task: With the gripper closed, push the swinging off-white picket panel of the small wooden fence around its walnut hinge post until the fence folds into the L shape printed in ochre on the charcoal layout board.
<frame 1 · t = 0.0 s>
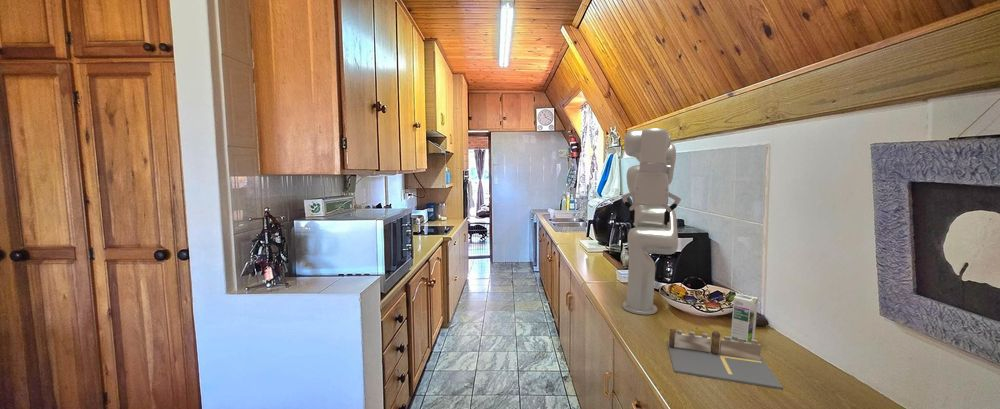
hand: (649, 223, 123), 37 cm above the worktop, tool pointing down, fingers open, 9 cm apart
fence gate: (689, 340, 116), point 4 cm above the worktop, hinge at 0.0°
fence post: (714, 354, 115), resting on layout card
syrup box: (742, 341, 124), on the worktop
layout card: (718, 363, 110), on the worktop
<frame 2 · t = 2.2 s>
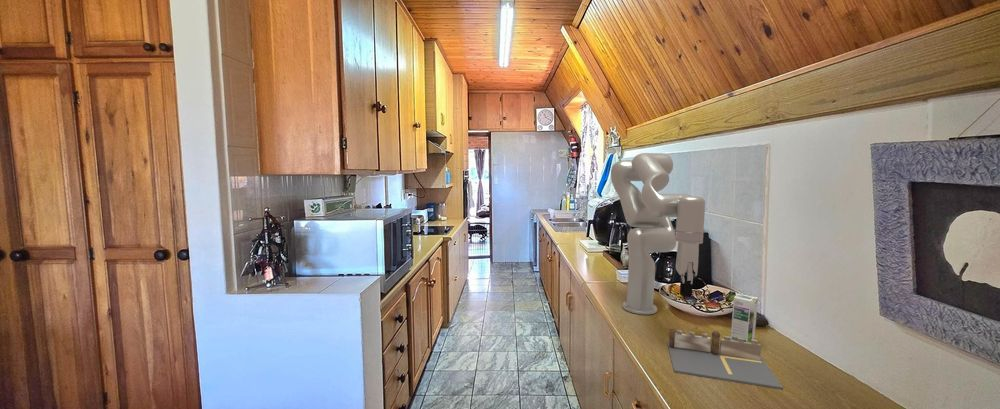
hand: (685, 295, 120), 15 cm above the worktop, tool pointing down, fingers closed
nothing on the worktop moved.
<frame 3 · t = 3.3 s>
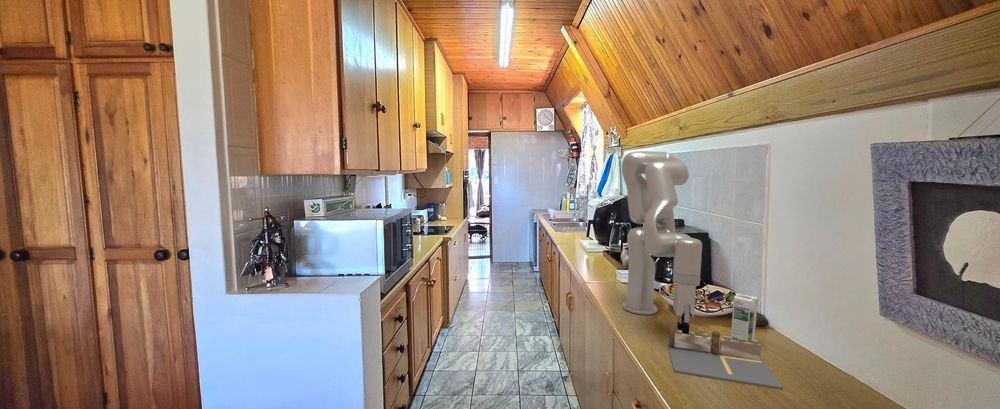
hand: (682, 335, 122), 2 cm above the worktop, tool pointing down, fingers closed
nothing on the worktop moved.
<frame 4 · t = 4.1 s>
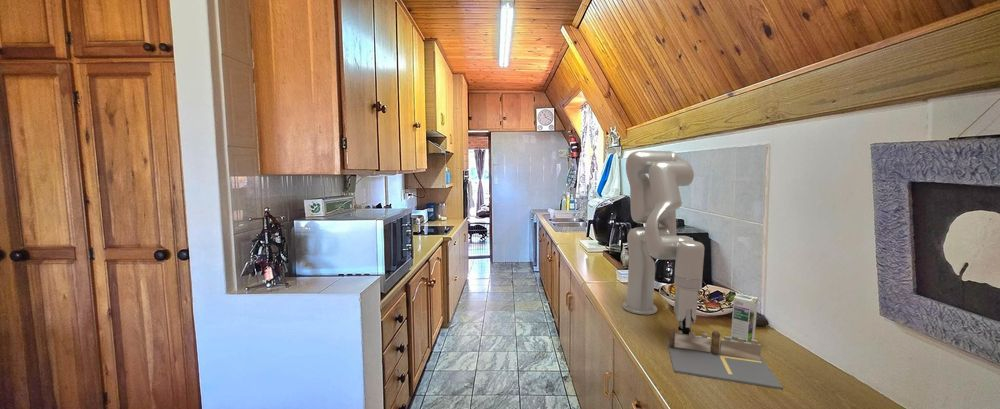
hand: (683, 340, 119), 2 cm above the worktop, tool pointing down, fingers closed
fence gate: (689, 340, 116), point 3 cm above the worktop, hinge at 0.8°, touching gripper
everything else where it was.
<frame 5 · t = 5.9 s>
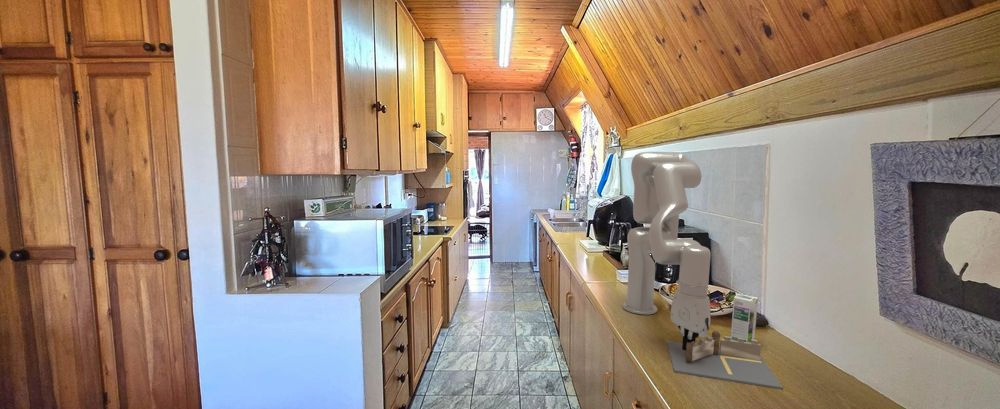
hand: (688, 349, 113), 2 cm above the worktop, tool pointing down, fingers closed
fence gate: (700, 348, 111), point 3 cm above the worktop, hinge at 45.3°, touching gripper
everything else where it was.
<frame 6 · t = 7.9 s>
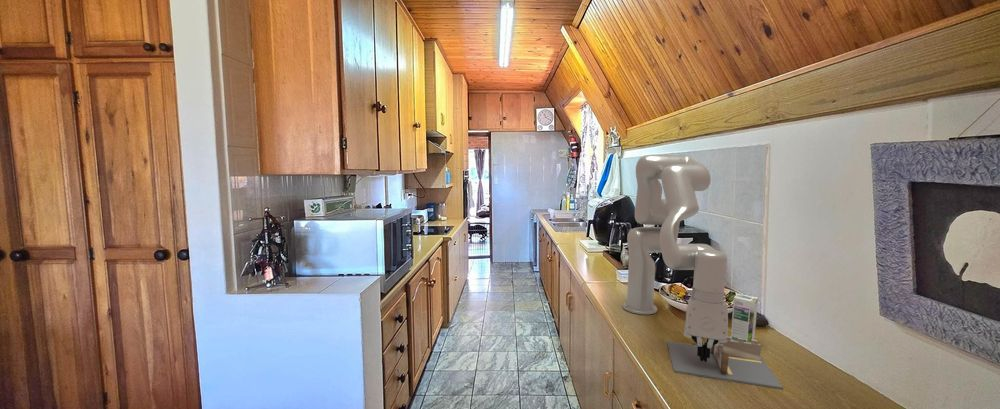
hand: (703, 359, 108), 2 cm above the worktop, tool pointing down, fingers closed
fence gate: (720, 354, 108), point 3 cm above the worktop, hinge at 89.2°
everything else where it was.
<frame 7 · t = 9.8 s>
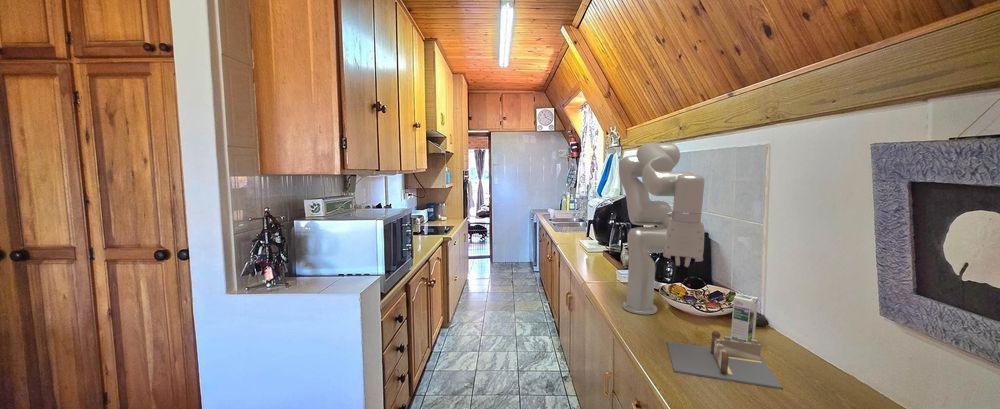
hand: (680, 277, 116), 22 cm above the worktop, tool pointing down, fingers closed
nothing on the worktop moved.
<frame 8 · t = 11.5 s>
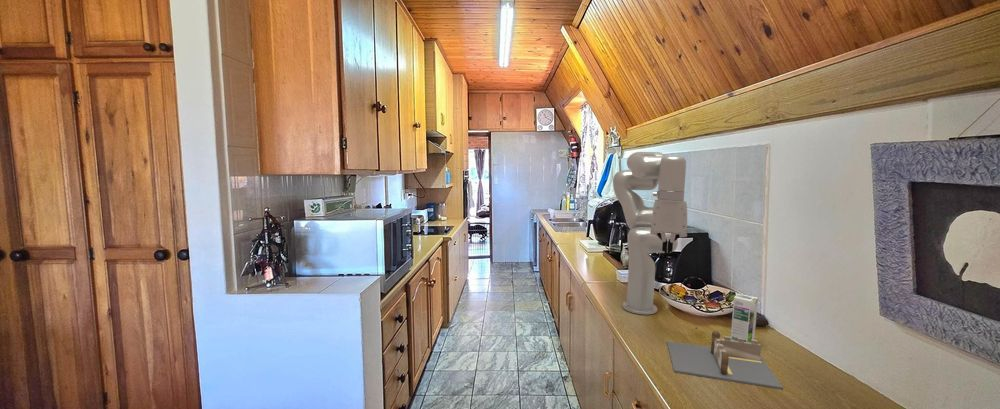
hand: (667, 253, 124), 27 cm above the worktop, tool pointing down, fingers closed
nothing on the worktop moved.
at the end: fence gate at +89° (first picture: +0°); syrup box moved 0.2 cm from its start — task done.
